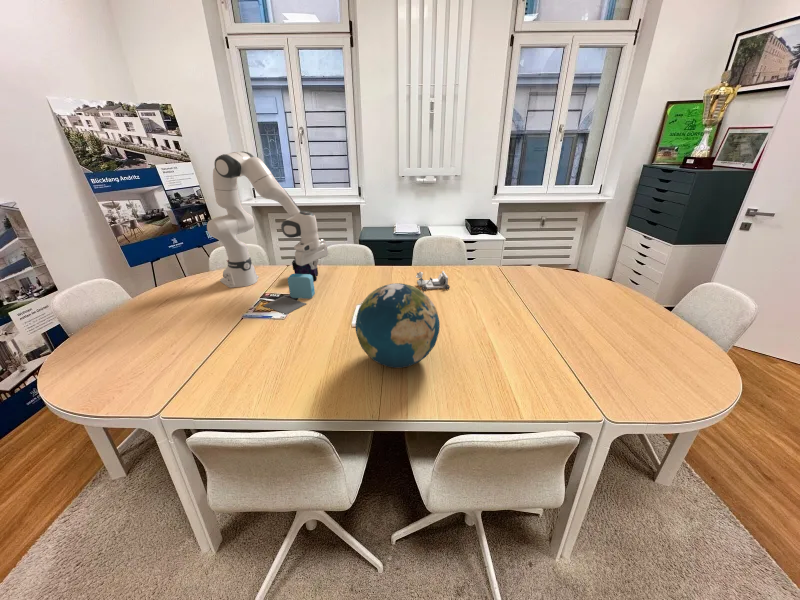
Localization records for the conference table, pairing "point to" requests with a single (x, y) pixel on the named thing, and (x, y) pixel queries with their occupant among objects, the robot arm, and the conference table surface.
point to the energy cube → (305, 269)
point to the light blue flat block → (301, 286)
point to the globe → (397, 325)
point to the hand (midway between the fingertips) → (314, 268)
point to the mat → (284, 305)
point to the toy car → (433, 282)
